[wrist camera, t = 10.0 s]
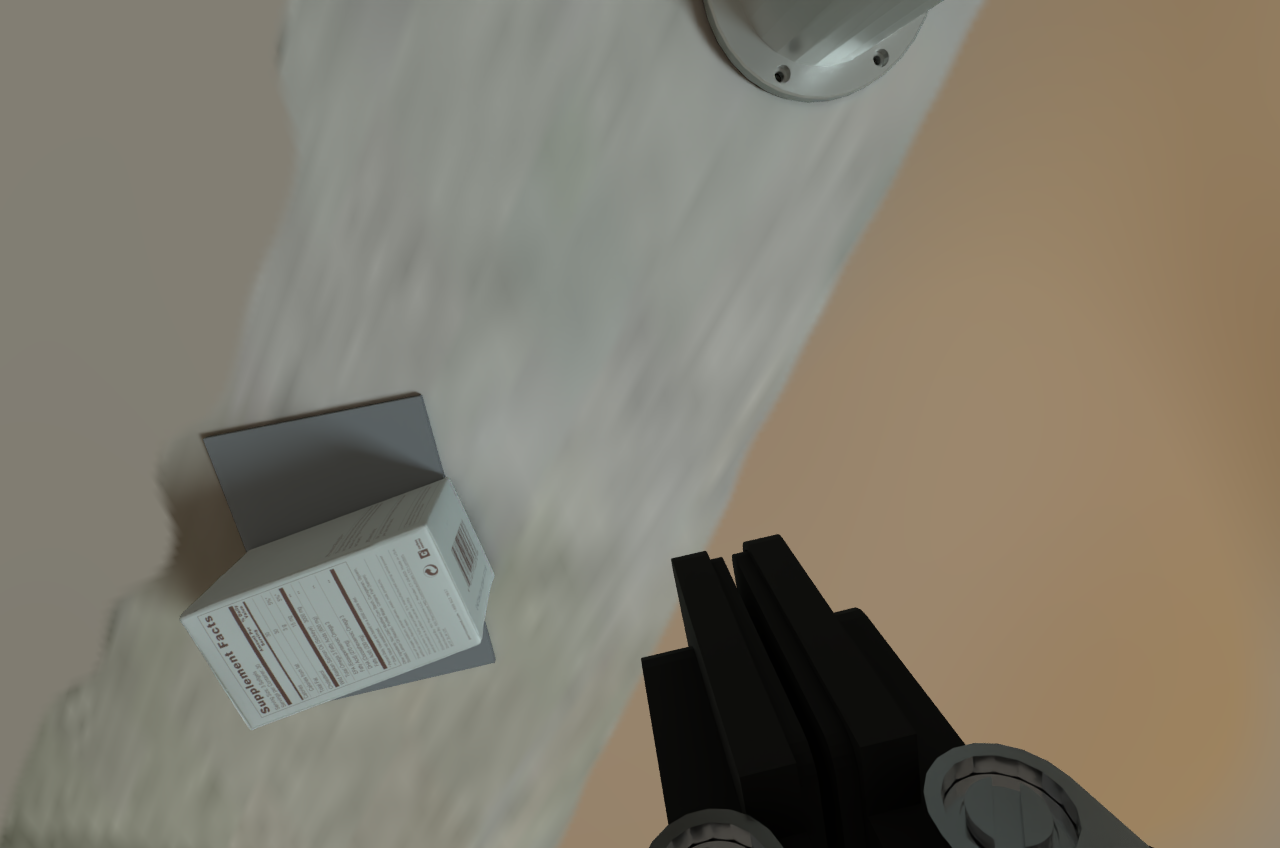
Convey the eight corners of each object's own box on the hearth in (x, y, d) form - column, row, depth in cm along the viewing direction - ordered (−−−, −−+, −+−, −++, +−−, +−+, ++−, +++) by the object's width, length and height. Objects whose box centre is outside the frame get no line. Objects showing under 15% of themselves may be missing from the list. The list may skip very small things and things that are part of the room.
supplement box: (498, 577, 39) (304, 648, 39) (450, 472, 37) (244, 546, 37) (485, 648, 32) (248, 736, 32) (425, 524, 30) (170, 617, 30)
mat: (421, 394, 36) (420, 396, 36) (495, 658, 41) (494, 662, 41) (206, 437, 35) (202, 439, 35) (308, 702, 40) (306, 706, 40)
